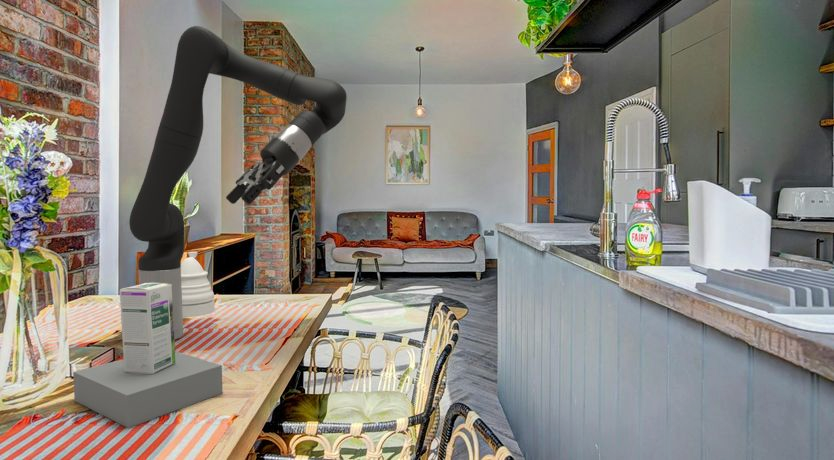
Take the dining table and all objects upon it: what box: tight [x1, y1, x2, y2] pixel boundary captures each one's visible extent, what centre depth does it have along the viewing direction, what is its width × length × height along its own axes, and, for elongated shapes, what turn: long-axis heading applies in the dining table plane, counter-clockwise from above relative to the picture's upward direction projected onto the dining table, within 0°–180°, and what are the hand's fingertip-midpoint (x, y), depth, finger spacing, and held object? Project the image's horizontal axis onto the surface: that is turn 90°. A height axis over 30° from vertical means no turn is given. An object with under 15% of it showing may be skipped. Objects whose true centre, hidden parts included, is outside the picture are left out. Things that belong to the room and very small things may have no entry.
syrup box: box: [119, 283, 176, 374], centre depth 85 cm, size 6×6×14 cm
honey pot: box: [181, 251, 215, 318], centre depth 149 cm, size 13×13×18 cm
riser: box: [72, 350, 224, 429], centre depth 86 cm, size 18×16×5 cm
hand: (236, 201), depth 104 cm, fingers open, 8 cm apart
